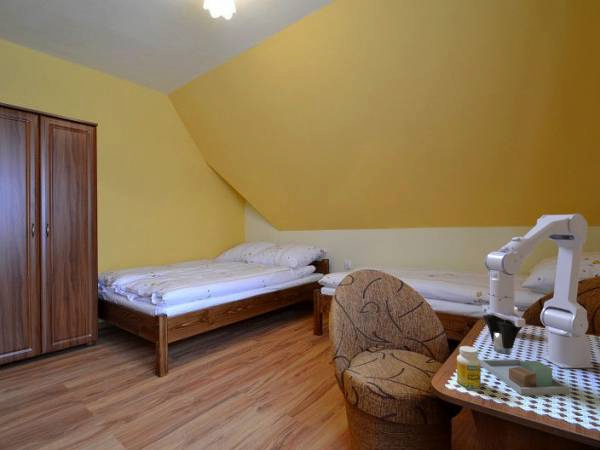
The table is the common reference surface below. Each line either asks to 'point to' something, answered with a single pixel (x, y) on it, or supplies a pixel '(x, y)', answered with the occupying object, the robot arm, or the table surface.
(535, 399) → the table surface
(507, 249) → the robot arm
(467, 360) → the supplement bottle
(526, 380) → the walnut cube
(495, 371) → the tray
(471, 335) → the table surface
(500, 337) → the cylinder
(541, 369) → the teal block
